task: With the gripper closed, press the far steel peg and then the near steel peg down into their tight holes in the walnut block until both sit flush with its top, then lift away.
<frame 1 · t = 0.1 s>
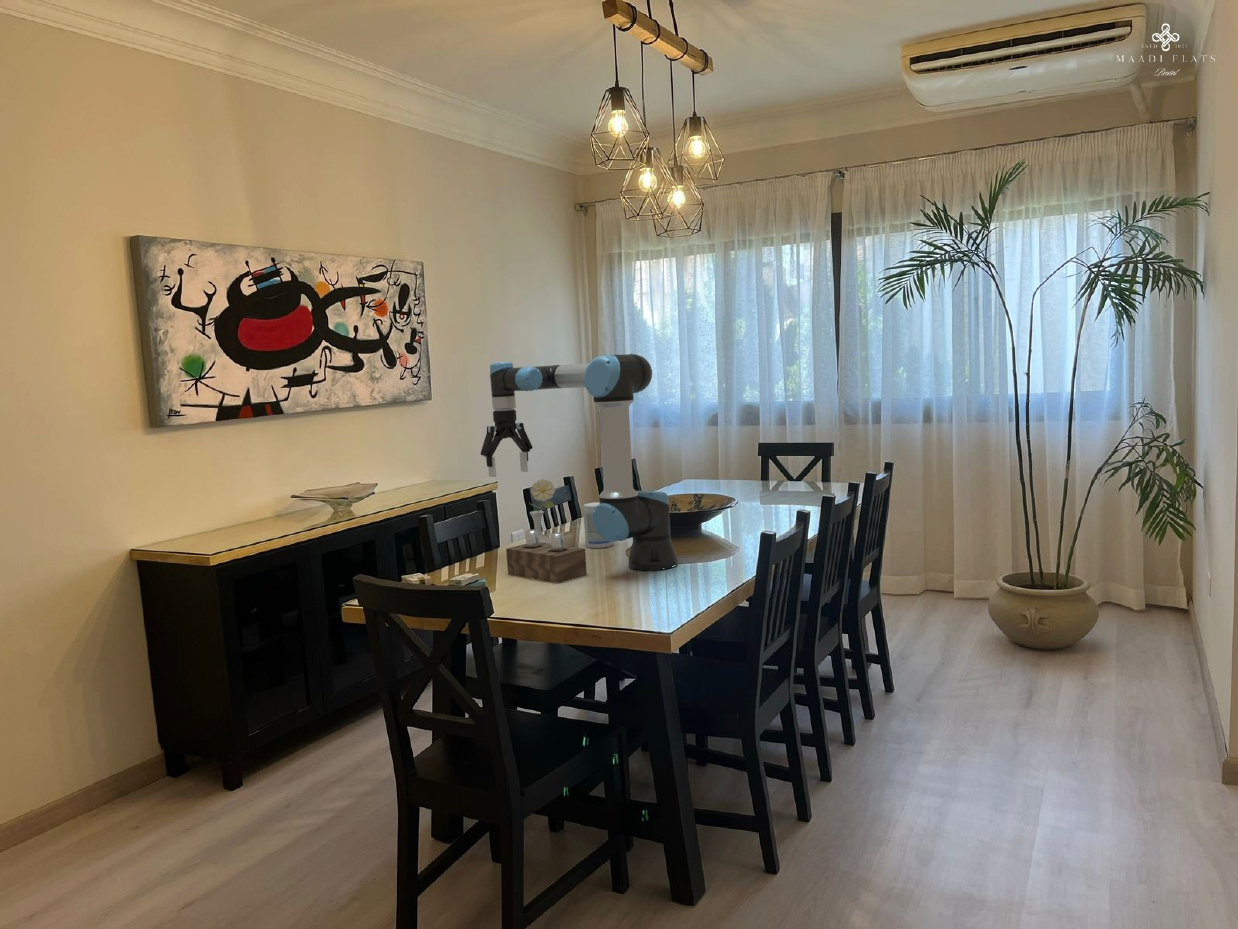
hand: (508, 474, 301), 28 cm above the table, tool pointing down, fingers open, 13 cm apart
block: (546, 574, 276), on the table
peg far: (532, 542, 279), point 9 cm above the table, slide at 5.0 cm
peg near: (557, 546, 272), point 9 cm above the table, slide at 5.0 cm
supplement tub: (599, 546, 315), on the table
flower in vase: (541, 552, 310), on the table
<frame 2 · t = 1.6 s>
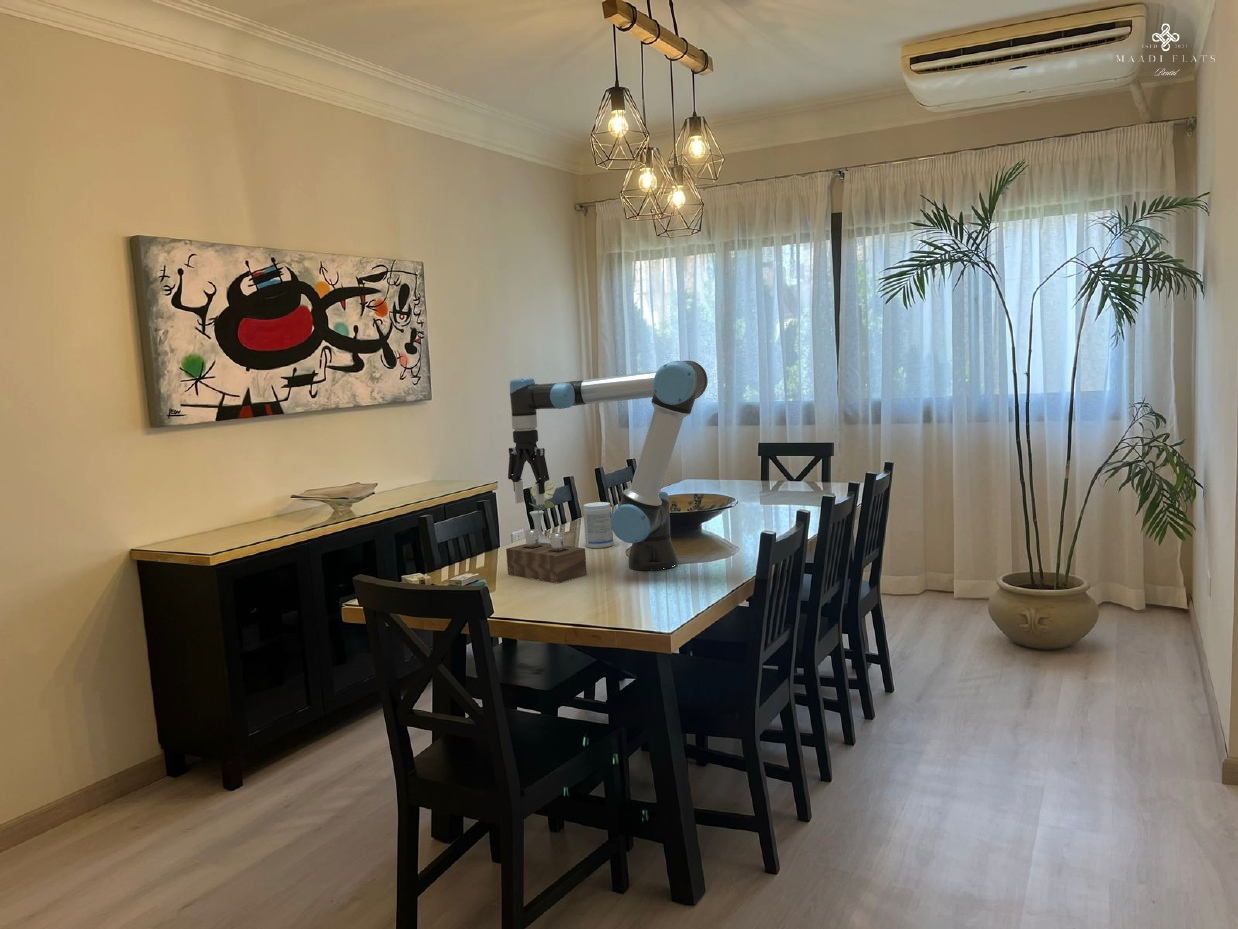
hand: (530, 503, 278), 21 cm above the table, tool pointing down, fingers open, 9 cm apart
nothing on the table moved.
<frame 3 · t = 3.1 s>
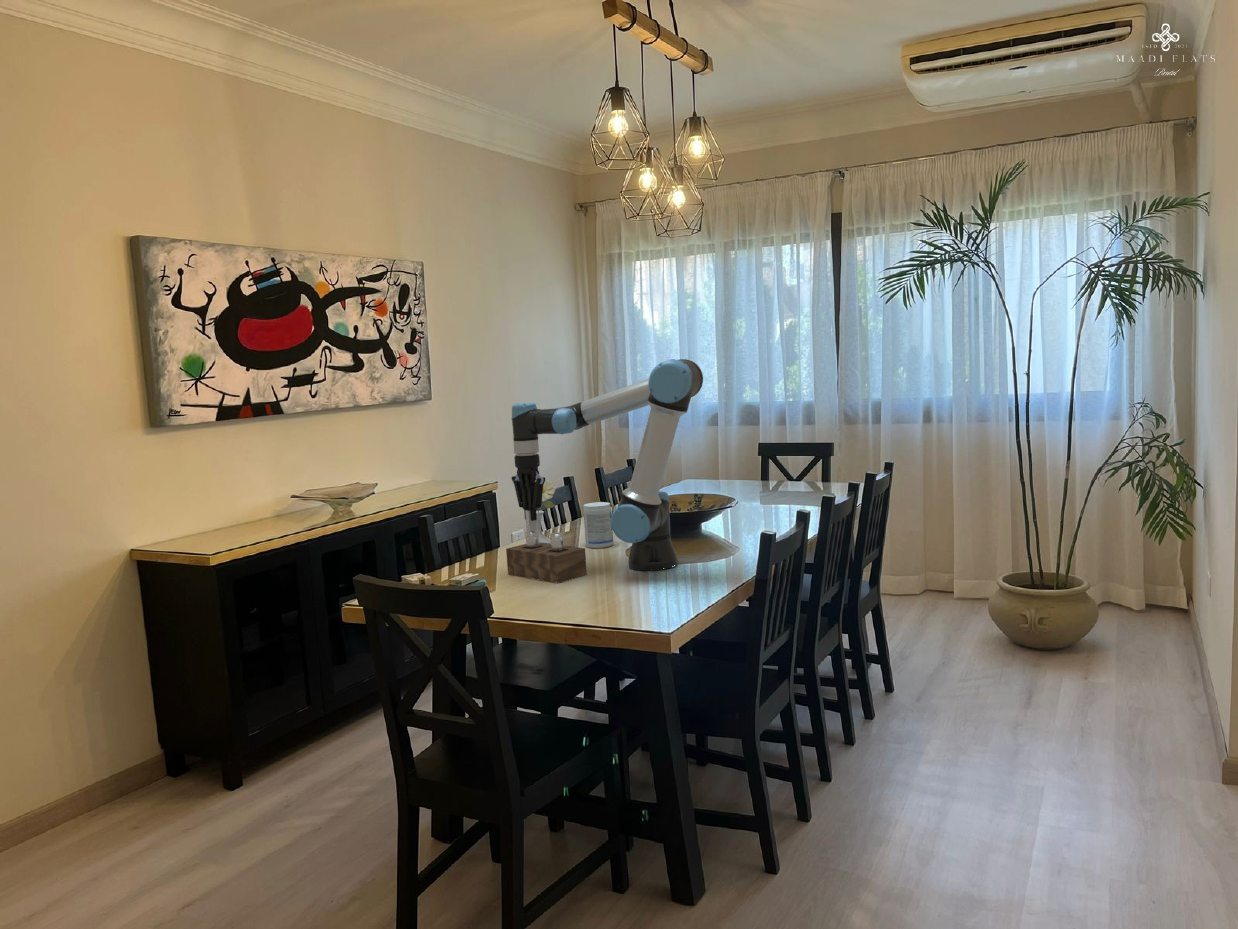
hand: (531, 530, 279), 13 cm above the table, tool pointing down, fingers closed
peg far: (532, 543, 279), point 9 cm above the table, slide at 4.7 cm, touching gripper
everything else where it was.
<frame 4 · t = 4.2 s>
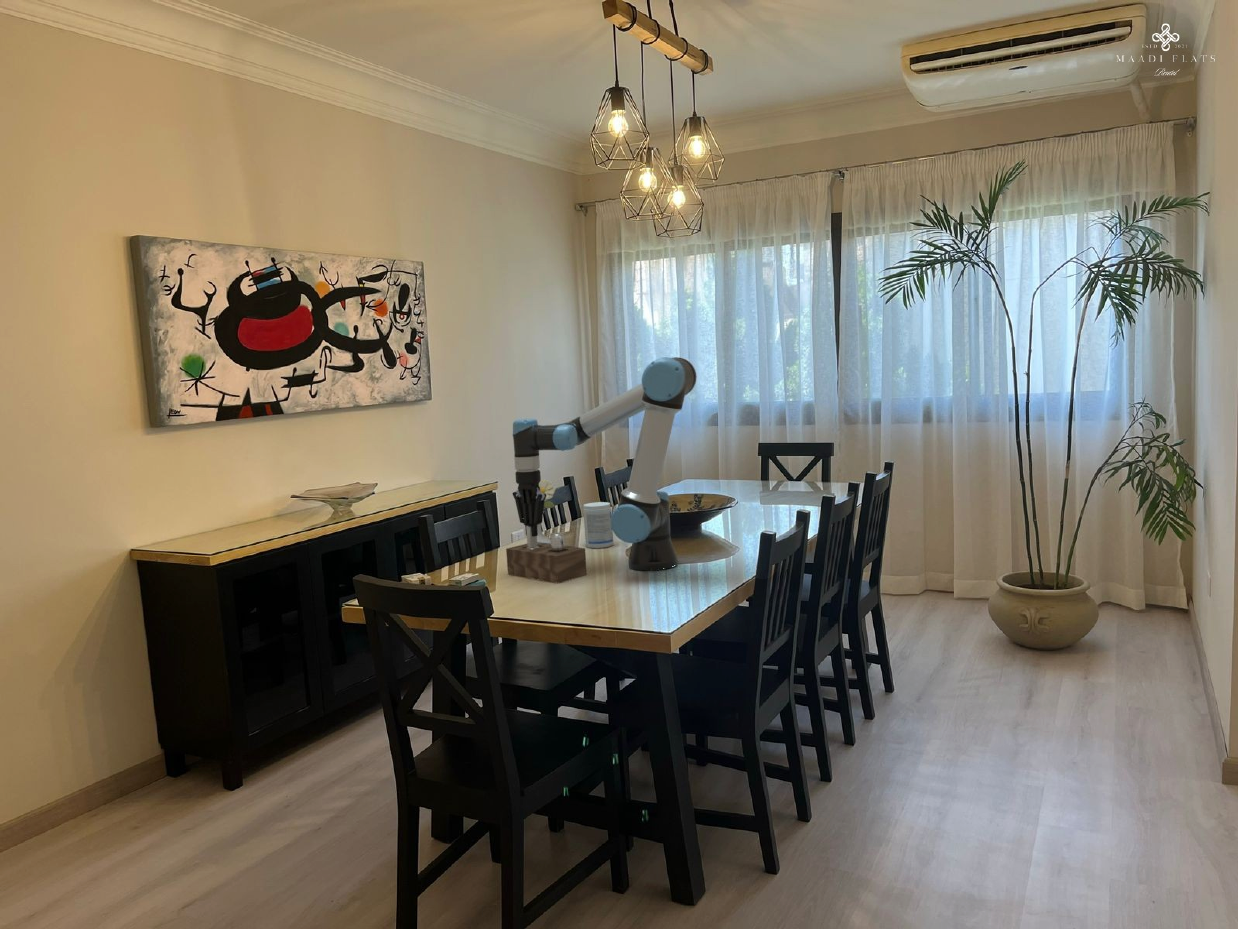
hand: (532, 546, 279), 8 cm above the table, tool pointing down, fingers closed
peg far: (533, 559, 280), point 4 cm above the table, slide at -0.1 cm, touching gripper
everything else where it was.
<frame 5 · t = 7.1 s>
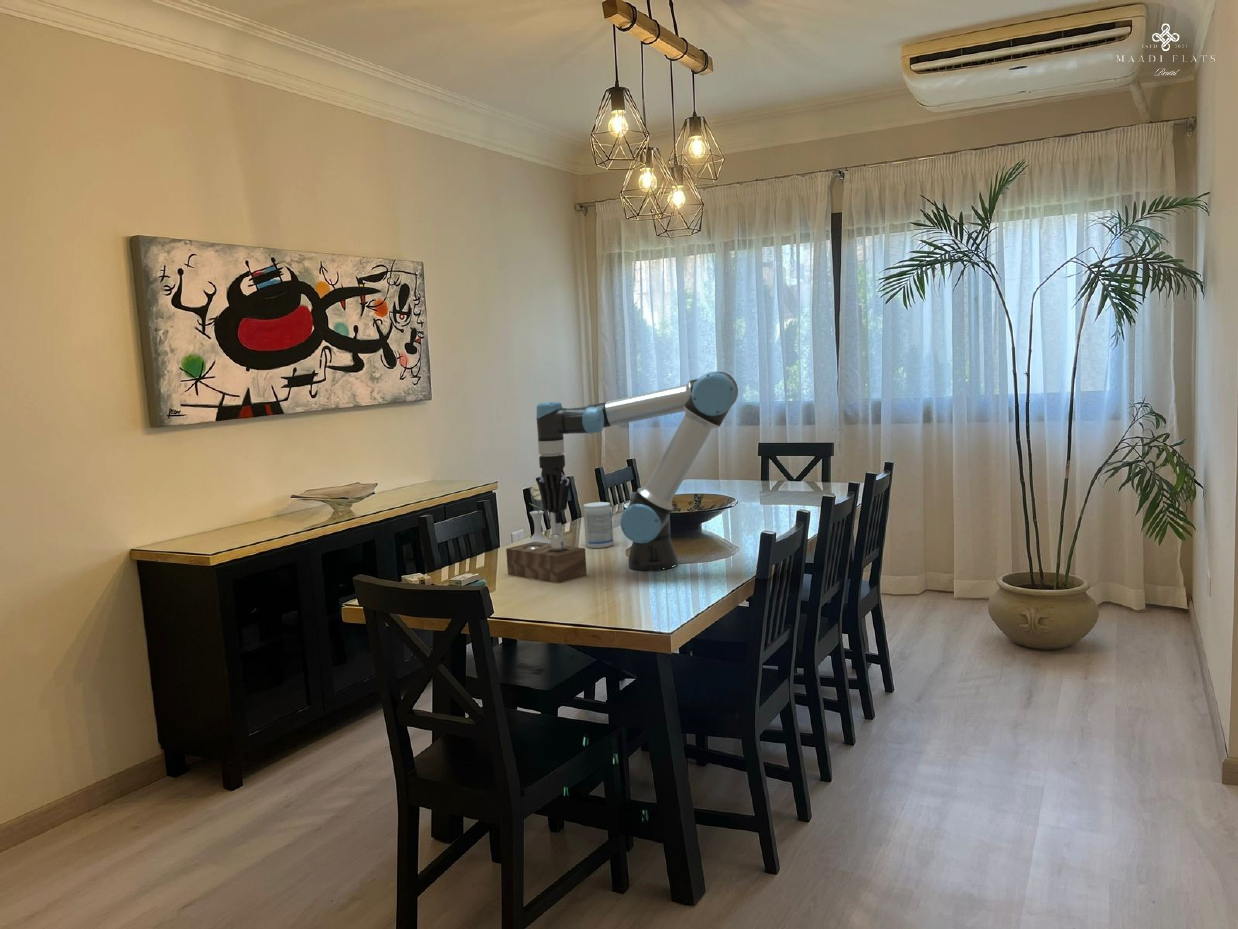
hand: (556, 533, 271), 13 cm above the table, tool pointing down, fingers closed
peg far: (533, 559, 280), point 4 cm above the table, slide at -0.2 cm
peg near: (557, 546, 272), point 9 cm above the table, slide at 4.8 cm, touching gripper
everything else where it was.
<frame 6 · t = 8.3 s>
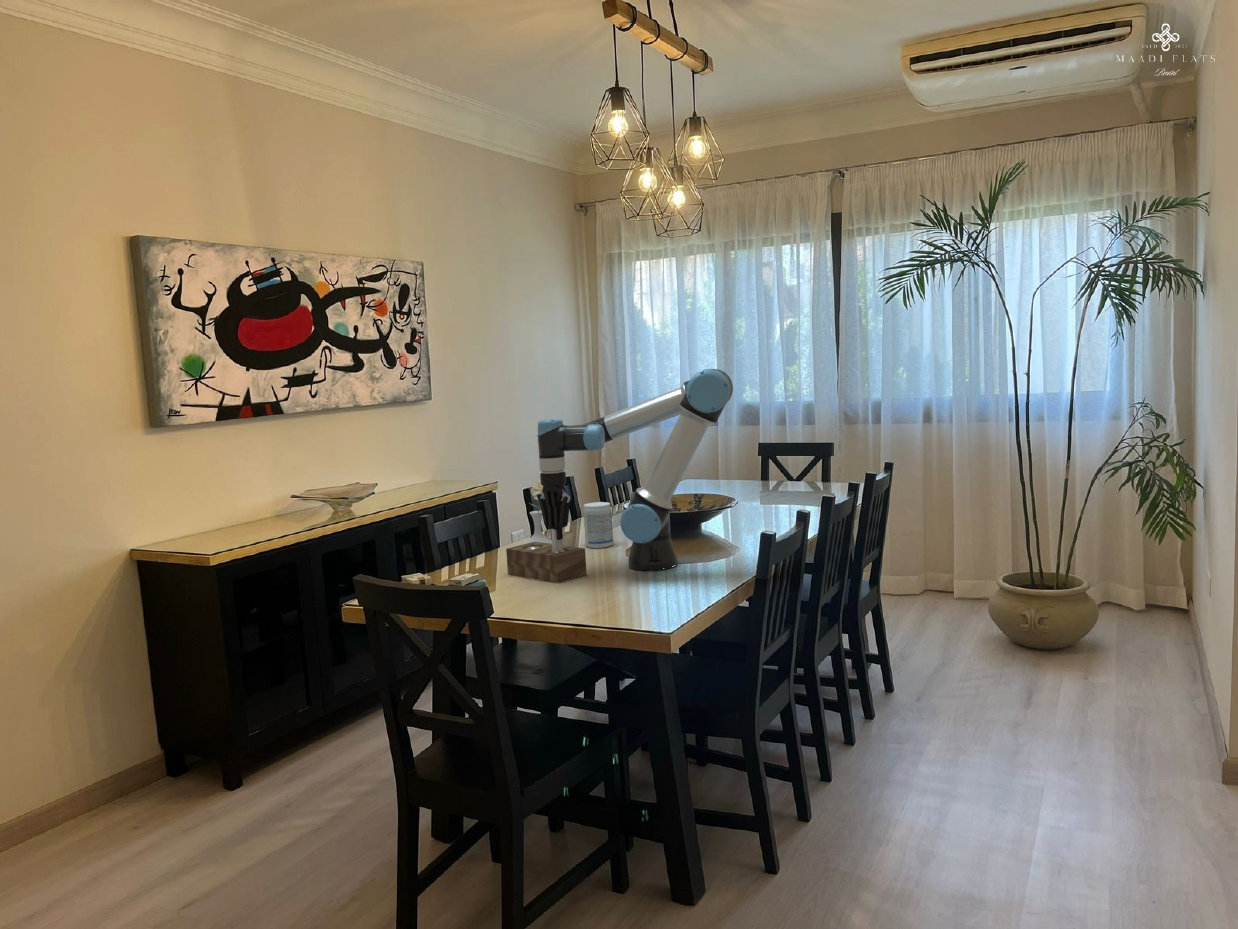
hand: (557, 550, 272), 8 cm above the table, tool pointing down, fingers closed
peg near: (558, 563, 272), point 4 cm above the table, slide at -0.2 cm, touching gripper
everything else where it was.
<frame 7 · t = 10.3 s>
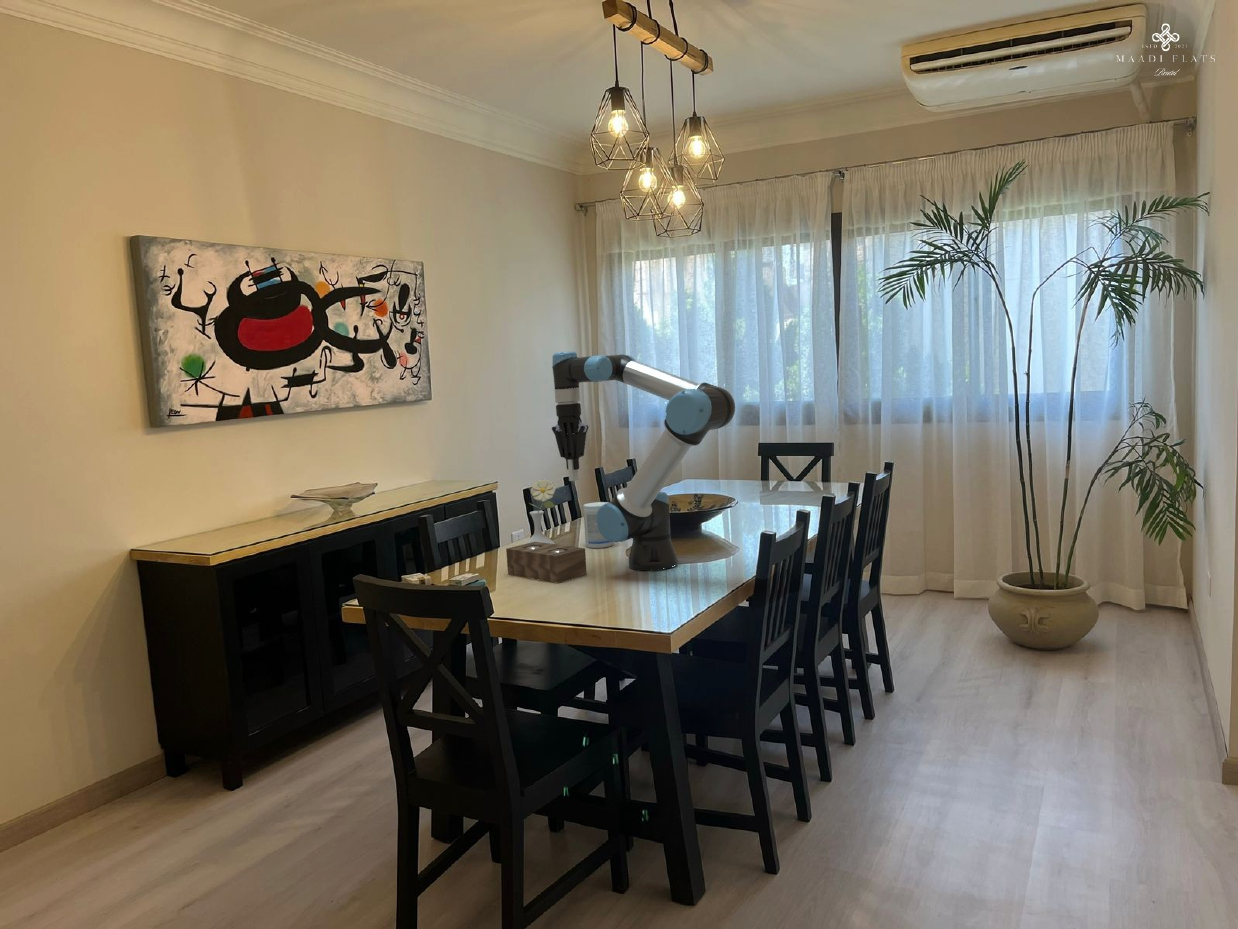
hand: (573, 480, 279), 28 cm above the table, tool pointing down, fingers closed
peg near: (558, 563, 272), point 4 cm above the table, slide at -0.2 cm
everything else where it was.
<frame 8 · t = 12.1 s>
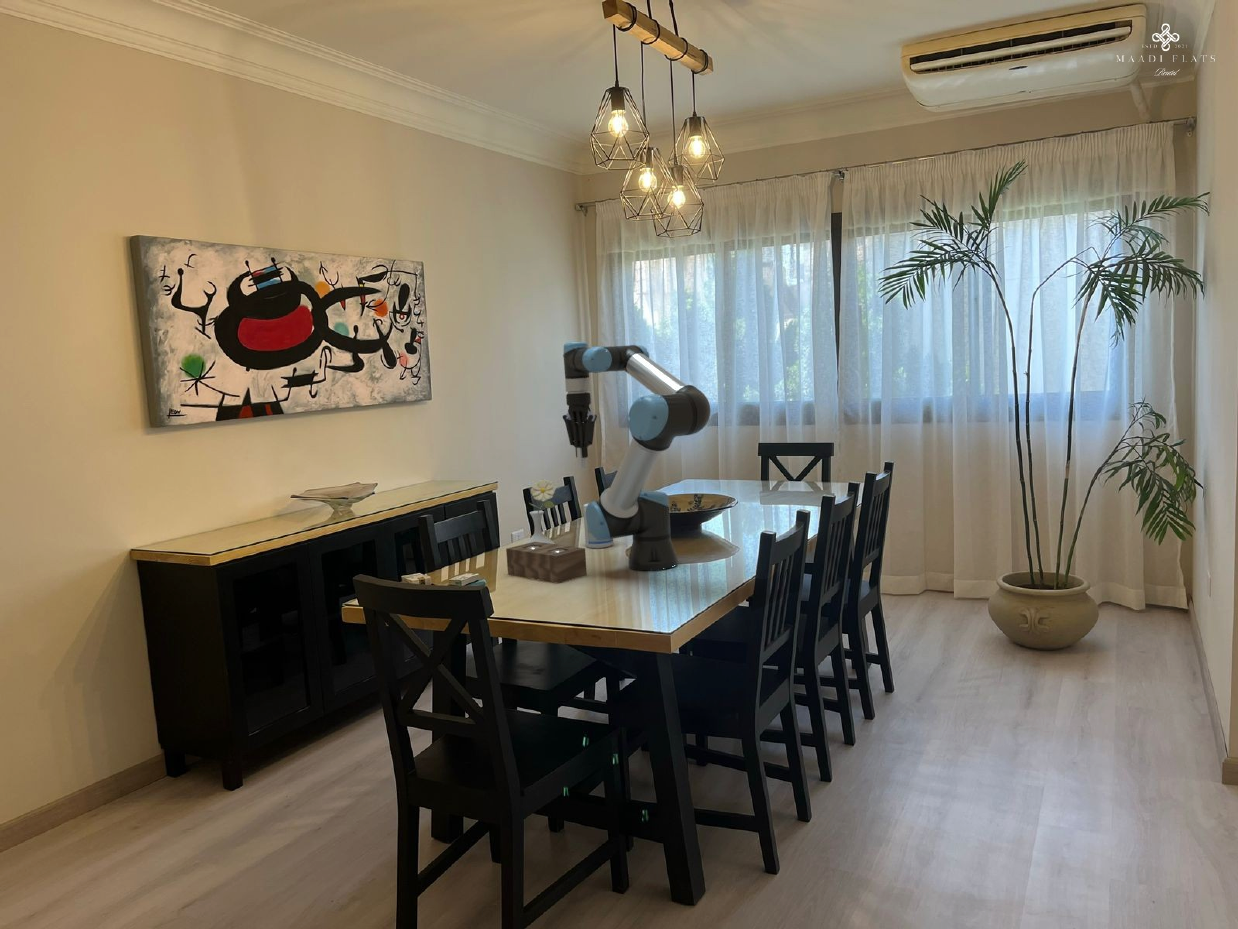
hand: (582, 468, 285), 30 cm above the table, tool pointing down, fingers closed
nothing on the table moved.
at the end: peg far slide at -0.2 cm; peg near slide at -0.2 cm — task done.
